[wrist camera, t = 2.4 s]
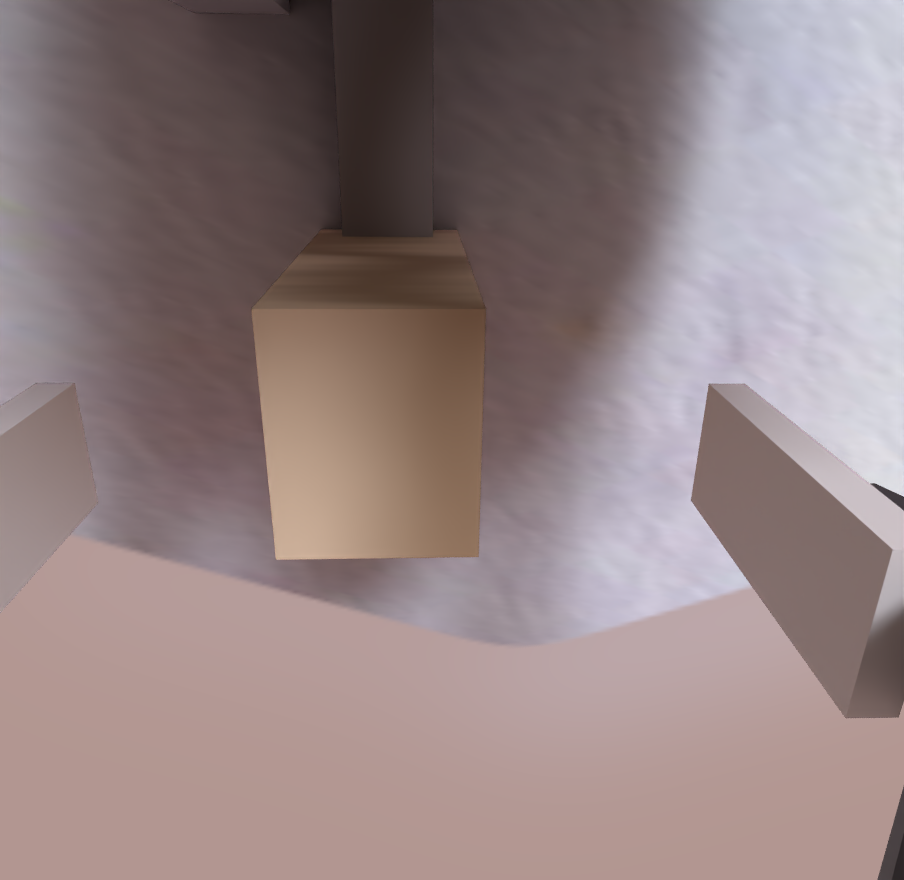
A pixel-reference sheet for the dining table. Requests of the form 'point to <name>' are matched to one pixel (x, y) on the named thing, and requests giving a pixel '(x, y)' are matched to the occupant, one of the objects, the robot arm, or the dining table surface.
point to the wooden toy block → (376, 328)
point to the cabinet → (236, 6)
